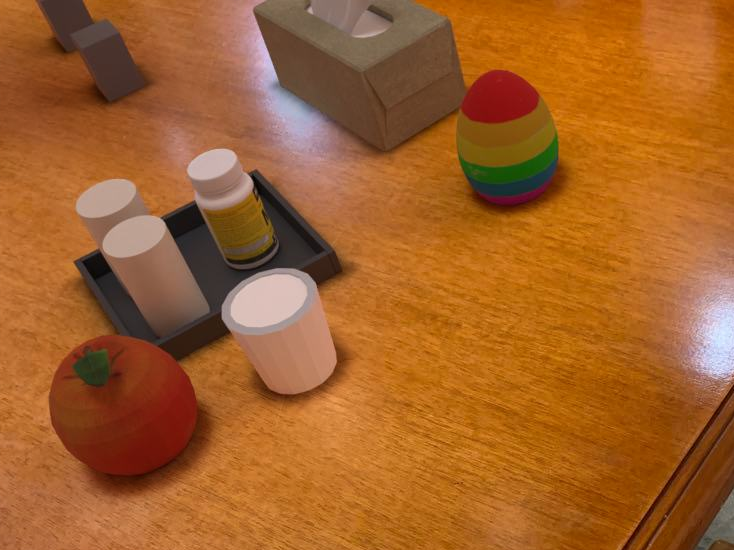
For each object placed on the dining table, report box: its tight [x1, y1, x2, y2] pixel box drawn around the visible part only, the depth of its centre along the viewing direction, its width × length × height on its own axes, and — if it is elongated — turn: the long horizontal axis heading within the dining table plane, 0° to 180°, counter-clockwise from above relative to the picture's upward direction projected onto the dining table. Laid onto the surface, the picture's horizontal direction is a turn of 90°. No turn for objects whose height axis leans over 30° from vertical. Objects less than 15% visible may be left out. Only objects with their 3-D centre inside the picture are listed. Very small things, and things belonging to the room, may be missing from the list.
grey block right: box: [70, 18, 146, 103], centre depth 103 cm, size 4×4×6 cm
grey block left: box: [35, 0, 95, 53], centre depth 111 cm, size 4×4×6 cm
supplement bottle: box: [186, 148, 279, 270], centre depth 82 cm, size 5×5×8 cm
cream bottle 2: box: [102, 214, 210, 338], centre depth 78 cm, size 5×5×8 cm
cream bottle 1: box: [75, 178, 152, 297], centre depth 82 cm, size 5×5×8 cm
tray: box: [72, 168, 343, 362], centre depth 84 cm, size 17×15×3 cm
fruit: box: [48, 334, 198, 477], centre depth 70 cm, size 10×10×10 cm
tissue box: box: [252, 0, 468, 153], centre depth 91 cm, size 19×10×16 cm, turn 41°
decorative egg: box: [455, 69, 560, 206], centre depth 82 cm, size 8×8×10 cm
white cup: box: [222, 268, 338, 395], centre depth 74 cm, size 7×7×7 cm
